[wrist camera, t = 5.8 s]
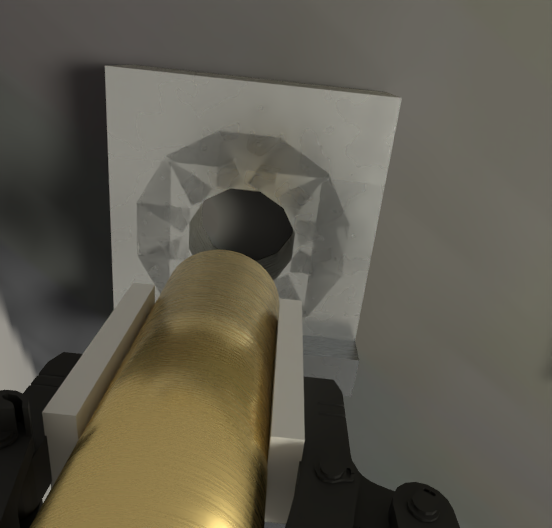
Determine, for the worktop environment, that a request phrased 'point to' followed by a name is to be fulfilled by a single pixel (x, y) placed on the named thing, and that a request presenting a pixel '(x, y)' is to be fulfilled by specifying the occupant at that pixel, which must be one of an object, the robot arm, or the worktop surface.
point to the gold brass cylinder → (182, 411)
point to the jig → (252, 186)
